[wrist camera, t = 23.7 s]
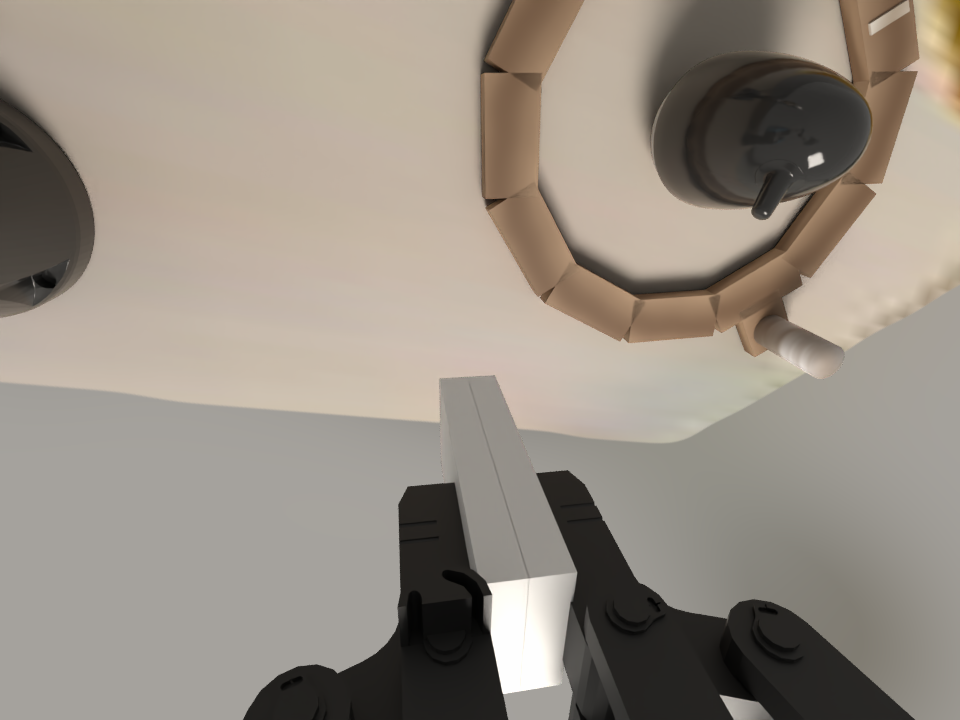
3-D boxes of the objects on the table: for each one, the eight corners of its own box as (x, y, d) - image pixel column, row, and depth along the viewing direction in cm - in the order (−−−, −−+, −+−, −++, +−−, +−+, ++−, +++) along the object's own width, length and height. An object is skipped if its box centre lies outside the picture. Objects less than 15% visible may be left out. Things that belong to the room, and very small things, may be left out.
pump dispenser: (603, 144, 39) (719, 156, 25) (702, 25, 36) (889, -33, 23) (681, 227, 43) (817, 276, 29) (775, 124, 40) (971, 126, 27)
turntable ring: (612, 428, 50) (651, 482, 43) (388, 38, 33) (388, 13, 26) (924, 245, 47) (1027, 269, 39) (856, -293, 30) (1015, -433, 22)
